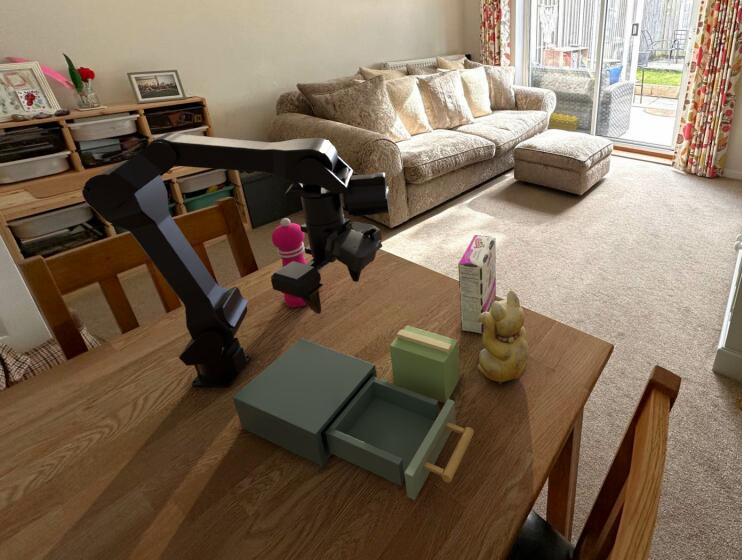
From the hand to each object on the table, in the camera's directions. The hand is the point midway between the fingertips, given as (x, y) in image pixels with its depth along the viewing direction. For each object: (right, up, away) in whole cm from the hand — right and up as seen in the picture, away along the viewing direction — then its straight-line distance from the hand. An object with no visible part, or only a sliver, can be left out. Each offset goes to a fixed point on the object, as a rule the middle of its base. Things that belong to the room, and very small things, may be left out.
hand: (337, 296), depth 71 cm
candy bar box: (+24, -9, +15) cm, 29 cm away
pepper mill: (-16, -6, +19) cm, 26 cm away
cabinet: (-1, -17, -6) cm, 18 cm away
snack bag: (+16, -15, -1) cm, 22 cm away
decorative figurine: (+30, -14, +2) cm, 33 cm away
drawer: (+15, -18, -12) cm, 27 cm away
